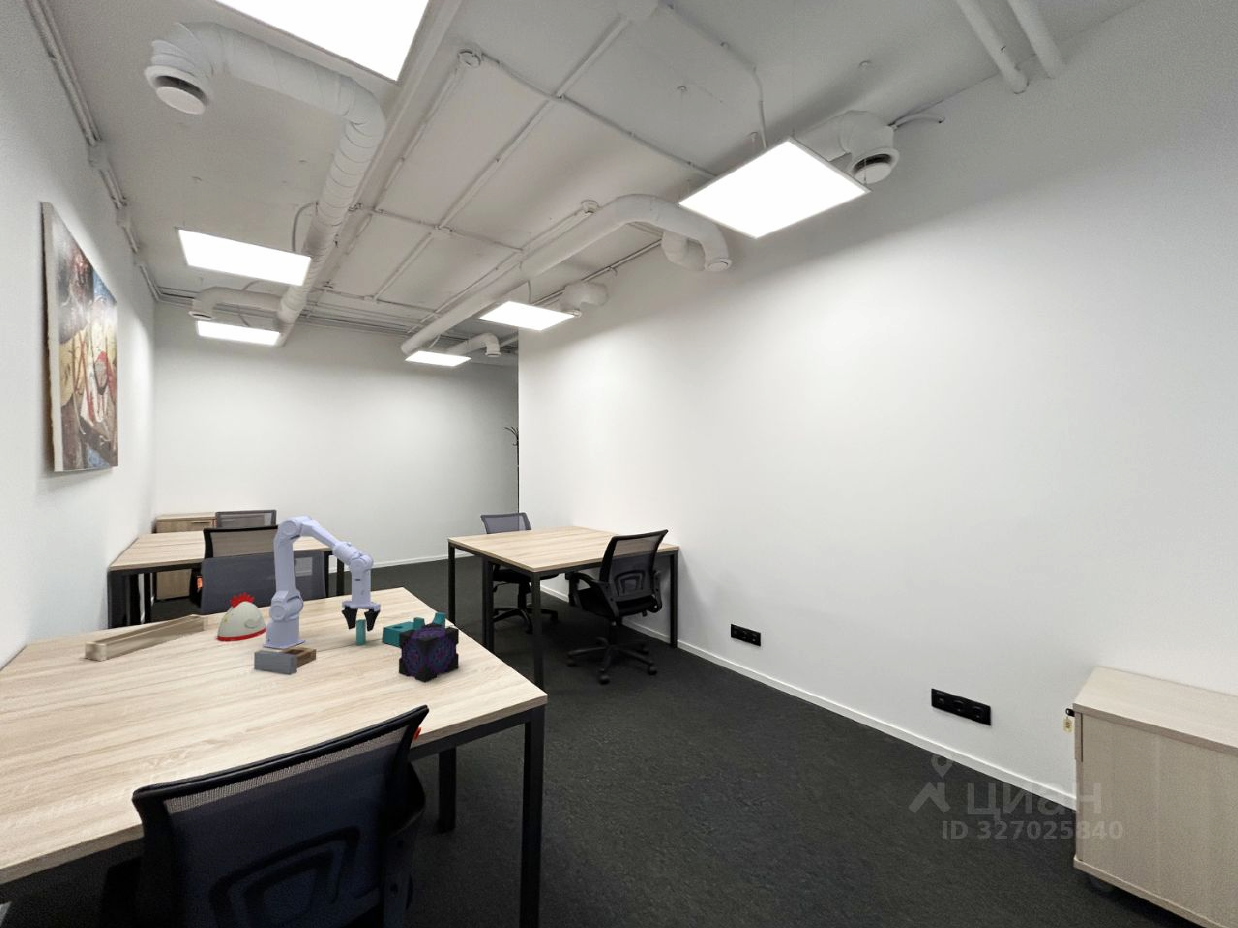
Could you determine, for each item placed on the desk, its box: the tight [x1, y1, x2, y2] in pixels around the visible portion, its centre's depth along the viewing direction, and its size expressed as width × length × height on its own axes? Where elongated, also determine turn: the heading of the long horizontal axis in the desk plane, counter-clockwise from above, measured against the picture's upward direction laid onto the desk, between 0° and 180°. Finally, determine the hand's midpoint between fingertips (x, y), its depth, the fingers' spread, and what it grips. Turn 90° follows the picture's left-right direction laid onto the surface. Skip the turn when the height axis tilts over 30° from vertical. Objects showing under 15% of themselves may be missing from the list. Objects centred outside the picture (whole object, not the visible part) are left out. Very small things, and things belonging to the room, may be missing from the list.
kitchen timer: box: [216, 592, 267, 643], centre depth 174 cm, size 14×14×15 cm
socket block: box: [278, 645, 317, 668], centre depth 150 cm, size 9×9×3 cm
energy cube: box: [398, 621, 460, 684], centre depth 146 cm, size 12×12×12 cm
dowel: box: [355, 618, 367, 646], centre depth 167 cm, size 3×3×8 cm
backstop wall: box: [253, 649, 298, 675], centre depth 145 cm, size 14×2×5 cm, turn 75°
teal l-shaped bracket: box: [381, 611, 447, 647], centre depth 169 cm, size 18×11×10 cm, turn 63°
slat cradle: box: [84, 614, 209, 662], centre depth 166 cm, size 7×30×5 cm, turn 165°
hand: (361, 629), depth 167 cm, fingers open, 7 cm apart
